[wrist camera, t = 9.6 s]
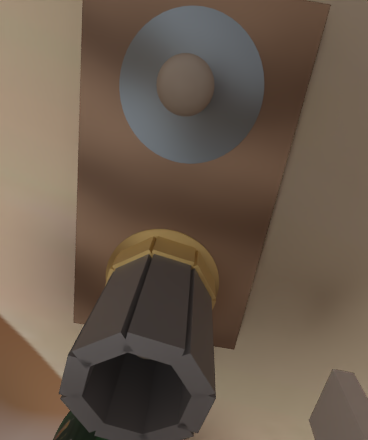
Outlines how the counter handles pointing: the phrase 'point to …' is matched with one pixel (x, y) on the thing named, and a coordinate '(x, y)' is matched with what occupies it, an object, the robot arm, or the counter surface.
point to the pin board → (188, 134)
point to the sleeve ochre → (146, 347)
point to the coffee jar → (74, 430)
